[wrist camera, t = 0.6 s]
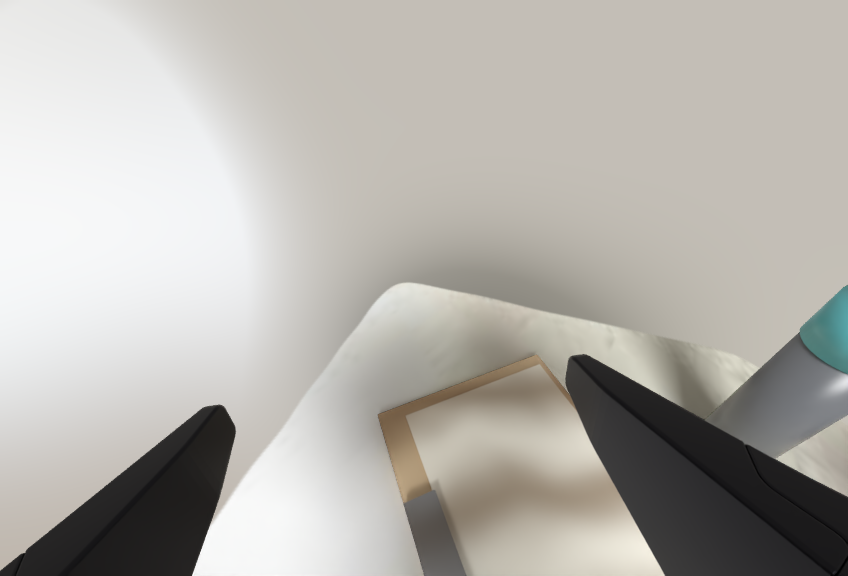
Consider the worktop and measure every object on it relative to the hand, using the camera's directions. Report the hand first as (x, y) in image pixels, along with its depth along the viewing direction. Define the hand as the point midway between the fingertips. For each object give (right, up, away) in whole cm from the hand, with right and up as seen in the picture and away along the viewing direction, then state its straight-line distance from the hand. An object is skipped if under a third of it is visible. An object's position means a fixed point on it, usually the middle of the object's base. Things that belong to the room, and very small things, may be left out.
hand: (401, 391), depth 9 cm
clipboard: (+7, -11, +12) cm, 18 cm away
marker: (+21, -8, +14) cm, 26 cm away
